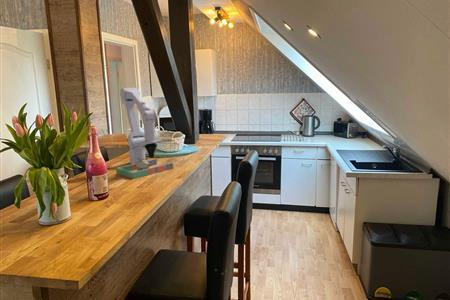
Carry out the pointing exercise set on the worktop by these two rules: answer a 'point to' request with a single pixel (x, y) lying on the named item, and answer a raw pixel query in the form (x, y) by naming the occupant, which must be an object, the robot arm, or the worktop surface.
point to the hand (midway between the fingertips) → (151, 157)
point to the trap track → (128, 173)
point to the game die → (142, 164)
